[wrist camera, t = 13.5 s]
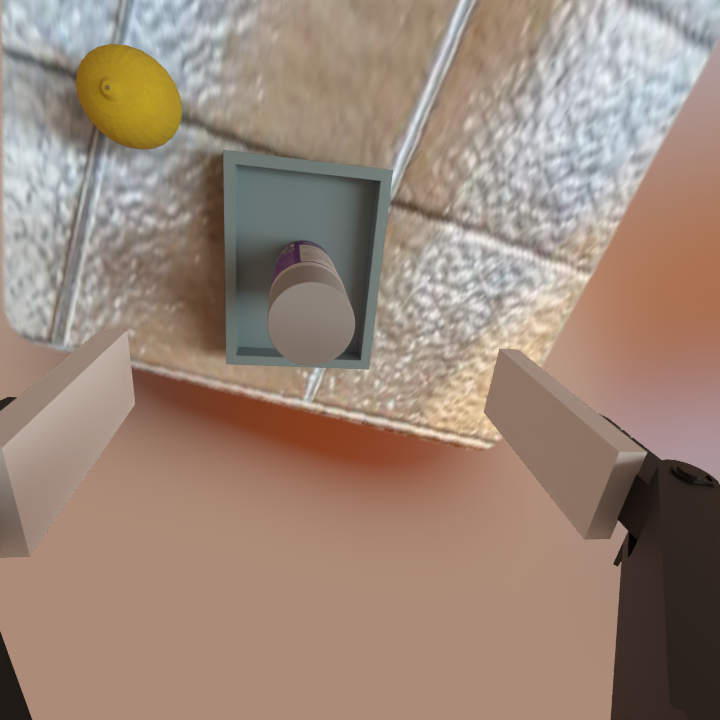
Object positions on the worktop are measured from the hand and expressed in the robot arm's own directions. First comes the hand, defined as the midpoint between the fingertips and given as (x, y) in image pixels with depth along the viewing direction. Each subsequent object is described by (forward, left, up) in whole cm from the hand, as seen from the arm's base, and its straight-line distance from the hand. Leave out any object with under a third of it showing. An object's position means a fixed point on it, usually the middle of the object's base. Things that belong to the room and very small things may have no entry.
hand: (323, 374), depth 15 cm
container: (0, 0, -22) cm, 22 cm away
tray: (0, 0, -23) cm, 23 cm away
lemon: (-10, -11, -23) cm, 27 cm away
